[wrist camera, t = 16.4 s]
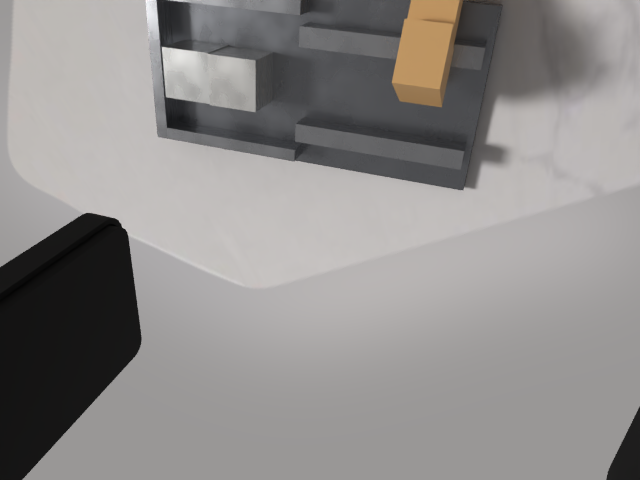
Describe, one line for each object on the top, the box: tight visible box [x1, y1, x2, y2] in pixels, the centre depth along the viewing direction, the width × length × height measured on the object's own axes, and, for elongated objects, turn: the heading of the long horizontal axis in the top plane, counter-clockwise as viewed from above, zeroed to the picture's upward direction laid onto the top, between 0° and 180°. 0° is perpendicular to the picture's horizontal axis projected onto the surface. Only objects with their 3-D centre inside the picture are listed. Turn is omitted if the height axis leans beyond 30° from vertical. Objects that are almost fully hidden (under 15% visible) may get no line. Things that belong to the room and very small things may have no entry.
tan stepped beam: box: [392, 0, 463, 107], centre depth 36 cm, size 5×3×12 cm
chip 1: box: [162, 40, 228, 104], centre depth 45 cm, size 4×4×4 cm
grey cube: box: [208, 46, 273, 112], centre depth 45 cm, size 4×4×4 cm
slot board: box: [145, 0, 502, 190], centre depth 44 cm, size 14×27×3 cm, turn 86°
